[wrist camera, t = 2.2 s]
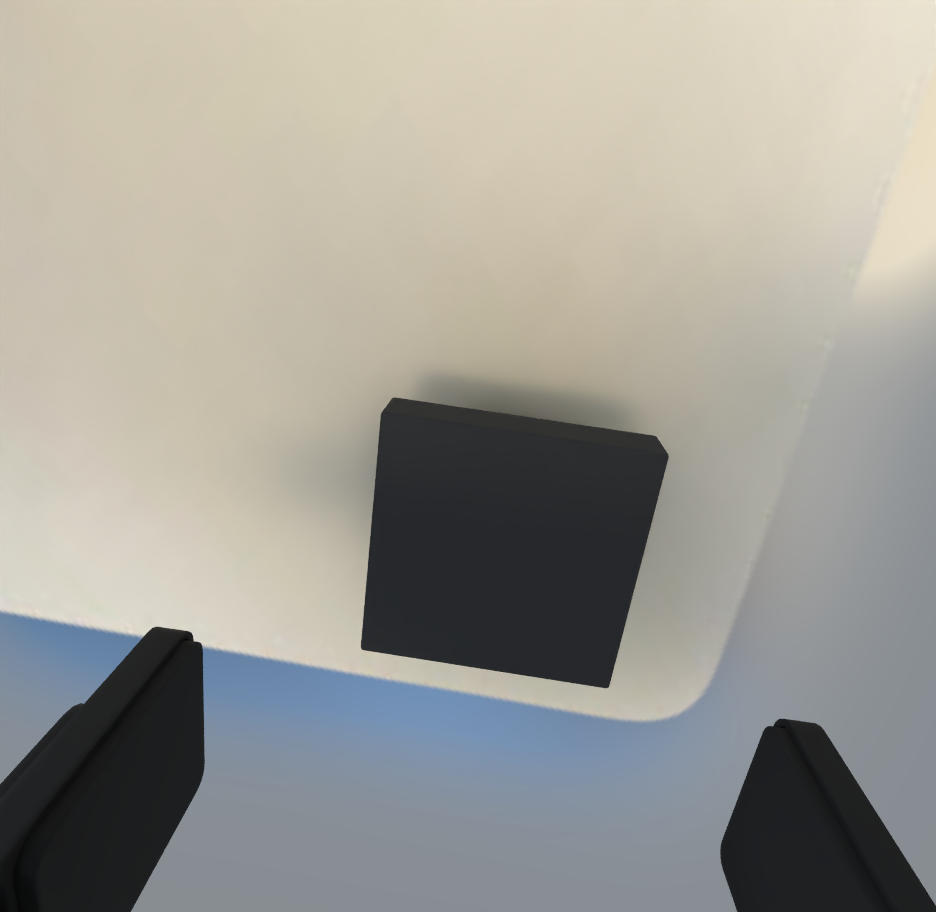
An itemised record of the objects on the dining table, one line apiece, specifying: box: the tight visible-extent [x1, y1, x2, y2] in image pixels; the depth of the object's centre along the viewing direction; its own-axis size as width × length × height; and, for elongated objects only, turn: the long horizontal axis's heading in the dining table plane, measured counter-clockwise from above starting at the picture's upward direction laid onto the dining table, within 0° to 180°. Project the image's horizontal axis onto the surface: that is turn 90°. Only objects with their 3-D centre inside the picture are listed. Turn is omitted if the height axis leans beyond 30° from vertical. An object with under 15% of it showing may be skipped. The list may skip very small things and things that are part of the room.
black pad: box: [361, 398, 669, 688], centre depth 19 cm, size 7×7×6 cm
